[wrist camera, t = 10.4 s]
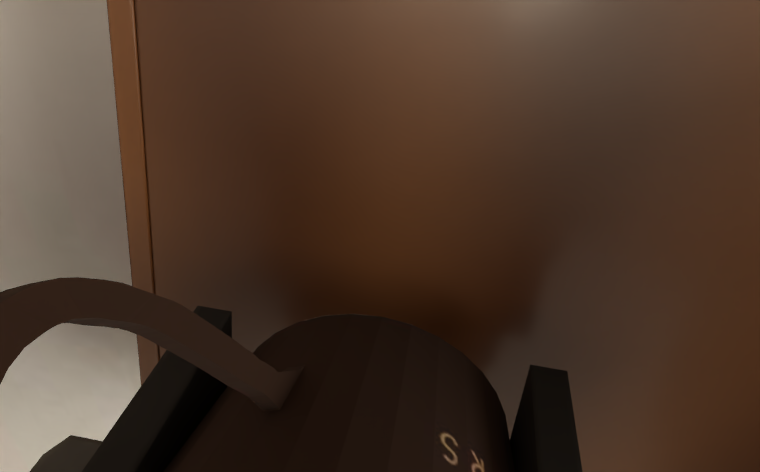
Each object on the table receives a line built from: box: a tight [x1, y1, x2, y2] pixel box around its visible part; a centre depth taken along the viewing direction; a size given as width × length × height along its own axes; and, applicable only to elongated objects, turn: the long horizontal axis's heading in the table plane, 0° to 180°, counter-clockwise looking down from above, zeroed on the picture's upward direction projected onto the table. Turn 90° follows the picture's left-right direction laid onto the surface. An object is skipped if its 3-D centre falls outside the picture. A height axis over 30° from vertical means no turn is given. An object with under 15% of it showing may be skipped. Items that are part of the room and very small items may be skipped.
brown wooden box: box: [107, 0, 760, 472], centre depth 15 cm, size 19×18×16 cm
